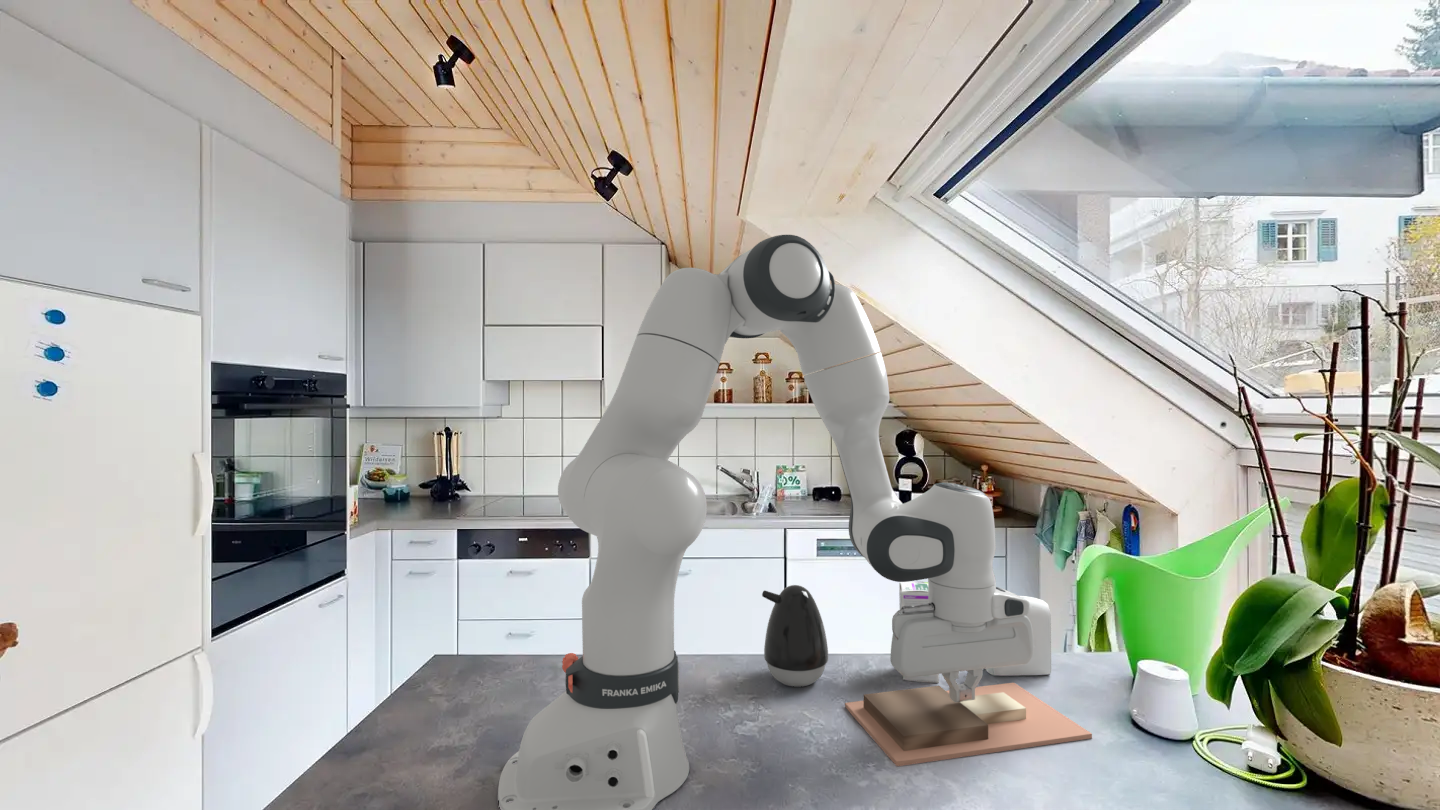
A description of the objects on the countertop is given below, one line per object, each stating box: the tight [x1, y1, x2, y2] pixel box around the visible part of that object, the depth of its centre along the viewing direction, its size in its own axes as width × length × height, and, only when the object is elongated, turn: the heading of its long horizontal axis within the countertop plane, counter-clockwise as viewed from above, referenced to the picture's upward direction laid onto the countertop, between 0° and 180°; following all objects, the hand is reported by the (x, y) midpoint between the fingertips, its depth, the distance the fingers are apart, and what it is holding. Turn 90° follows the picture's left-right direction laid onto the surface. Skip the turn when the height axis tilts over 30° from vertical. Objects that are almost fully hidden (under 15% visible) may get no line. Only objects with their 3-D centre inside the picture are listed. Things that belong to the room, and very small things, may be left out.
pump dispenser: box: [761, 584, 829, 688], centre depth 107 cm, size 10×10×15 cm
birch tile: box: [960, 692, 1026, 724], centre depth 94 cm, size 8×5×2 cm, turn 102°
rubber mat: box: [844, 682, 1093, 767], centre depth 93 cm, size 28×16×1 cm, turn 102°
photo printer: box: [985, 595, 1052, 677], centre depth 109 cm, size 10×4×12 cm, turn 89°
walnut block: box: [863, 685, 988, 751], centre depth 92 cm, size 12×12×2 cm
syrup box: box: [898, 580, 940, 683], centre depth 109 cm, size 6×6×14 cm
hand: (962, 699), depth 93 cm, fingers closed
